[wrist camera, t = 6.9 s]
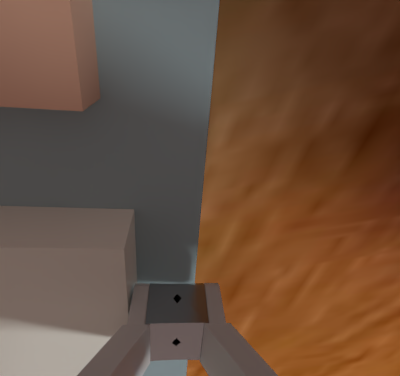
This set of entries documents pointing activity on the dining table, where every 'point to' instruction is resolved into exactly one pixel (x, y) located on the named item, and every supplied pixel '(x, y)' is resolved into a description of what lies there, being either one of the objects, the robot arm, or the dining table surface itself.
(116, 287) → the cream card
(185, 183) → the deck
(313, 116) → the dining table surface
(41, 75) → the terracotta card
